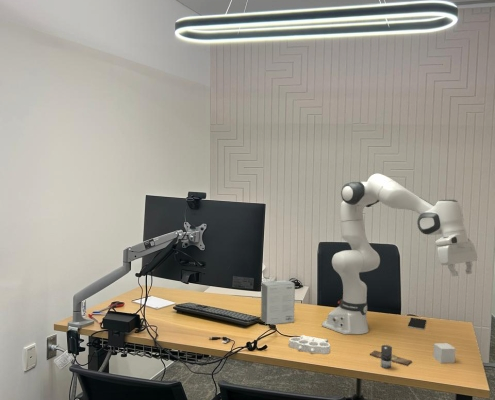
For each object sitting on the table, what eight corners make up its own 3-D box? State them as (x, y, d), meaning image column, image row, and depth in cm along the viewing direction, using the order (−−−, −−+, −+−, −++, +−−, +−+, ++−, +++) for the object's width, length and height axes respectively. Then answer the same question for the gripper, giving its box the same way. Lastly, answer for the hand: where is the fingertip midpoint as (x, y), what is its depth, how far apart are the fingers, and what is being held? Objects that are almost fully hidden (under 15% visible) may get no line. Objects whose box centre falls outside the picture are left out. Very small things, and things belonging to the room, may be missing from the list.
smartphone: (407, 326, 235) (410, 317, 249) (407, 328, 235) (410, 319, 249) (424, 328, 232) (426, 319, 245) (424, 331, 232) (426, 321, 245)
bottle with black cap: (378, 366, 187) (379, 347, 186) (383, 363, 190) (384, 344, 189) (388, 369, 184) (389, 349, 184) (392, 366, 187) (393, 346, 187)
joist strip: (369, 355, 198) (369, 353, 198) (375, 351, 202) (375, 349, 202) (406, 366, 188) (406, 364, 188) (412, 361, 192) (412, 360, 192)
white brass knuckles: (335, 346, 208) (325, 358, 195) (296, 339, 216) (284, 350, 203) (335, 338, 208) (326, 350, 195) (296, 332, 216) (285, 342, 203)
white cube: (433, 357, 198) (433, 343, 197) (446, 357, 198) (447, 343, 198) (441, 363, 192) (441, 348, 191) (454, 362, 192) (455, 348, 192)
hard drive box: (288, 318, 245) (289, 280, 244) (294, 322, 238) (295, 283, 237) (260, 320, 240) (261, 281, 239) (265, 325, 233) (266, 285, 232)
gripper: (463, 239, 194) (470, 273, 191) (432, 242, 182) (439, 278, 180) (477, 236, 189) (484, 271, 186) (447, 239, 177) (454, 276, 175)
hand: (462, 275), depth 183 cm, fingers open, 8 cm apart
